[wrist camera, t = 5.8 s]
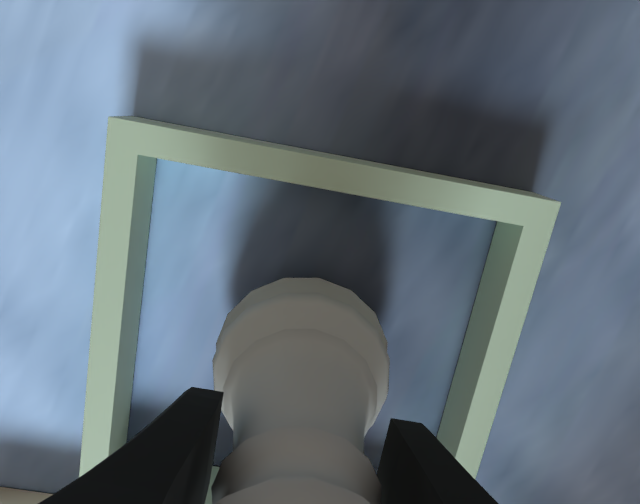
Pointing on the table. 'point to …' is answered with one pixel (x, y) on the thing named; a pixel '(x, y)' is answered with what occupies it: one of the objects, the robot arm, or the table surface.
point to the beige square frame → (21, 496)
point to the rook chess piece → (300, 395)
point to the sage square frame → (320, 172)
